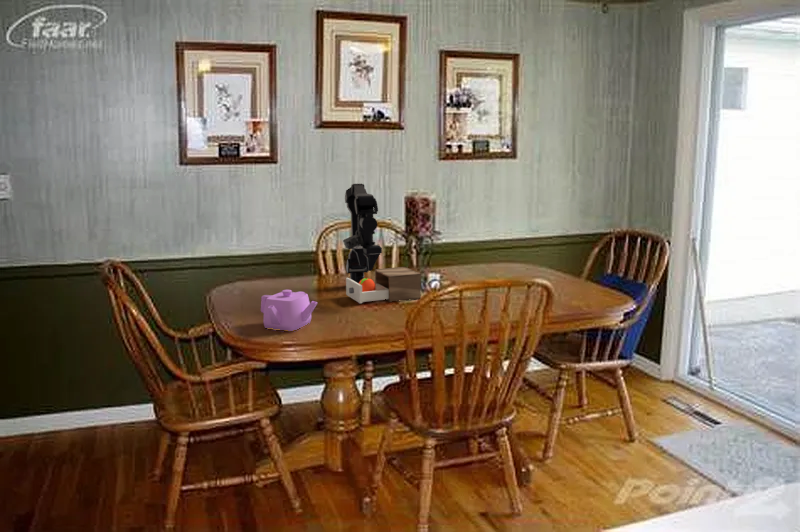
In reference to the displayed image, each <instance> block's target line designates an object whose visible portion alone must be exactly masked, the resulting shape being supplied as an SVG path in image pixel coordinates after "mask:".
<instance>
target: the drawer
mask: <svg viewBox="0 0 800 532" xmlns="http://www.w3.org/2000/svg"><path fill="white" fill-rule="evenodd" d="M345 284H346V285H345V290H346V291H345V292H346V293H345V294H346V296H348V298H351V299H352V300H354V301H356V302H357V303H358V304H363V303H365V302H372V301H373V302H374V301H383V300H385V299H389V289H387V288H385V287H384V286H382V285H380V284H378V283H377V284H375V286H376V288H375V291H367V292H362V285H360V284H359V283H357V282H355V281H354V280H352V279H350V277H346V278H345ZM385 301H386V300H385Z"/></svg>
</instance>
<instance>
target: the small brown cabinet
mask: <svg viewBox="0 0 800 532" xmlns="http://www.w3.org/2000/svg"><path fill="white" fill-rule="evenodd" d="M421 277H422V274H421V273H420V272H417V271H416V270H413V269H411V268H408V267H406V266H398V267H388V268H387V267H386V268H376V269H374V283H375V284H377V283H378V284H380V285H382V286H384V287H385V288H387V289H389V299H386V300H385V301H387V302H388V303H393V302H392V301H397V302H400V301H399V300H406V301H410V300H409V299H415V300H420V299H419V298H421V294H422V293H421V291H422V290H421V286H422V285H421V280H422V279H421Z"/></svg>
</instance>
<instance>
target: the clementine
mask: <svg viewBox="0 0 800 532" xmlns="http://www.w3.org/2000/svg"><path fill="white" fill-rule="evenodd" d="M359 284H360V285H362V292H367V291H375V288H376V286H375V280H373V279H372V278H369V277H364V279H362V280H360V282H359Z"/></svg>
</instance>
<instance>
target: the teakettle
mask: <svg viewBox="0 0 800 532" xmlns="http://www.w3.org/2000/svg"><path fill="white" fill-rule="evenodd" d="M260 298H261V300H260V301H261V302H260V312H261V313H262V314H263V320H262V321H263V326H264V329H265V328H273V329H280V330H288V331H293V330H297V329H299V328H301V327H303V326H305V325H307V324H308V323H309V324H311V320H312V313H313V312H314V310H315V308H316V306H317V305H318V302H317V301H314V300H312V301H310V298H309V295H308V293H306V292H305V291H295V292H294V291H293V290H291V289H283V290H281V291H280V292H277V293H275V294H273V295H271V294H270V295H269V294H264V295H262V296H261V297H260ZM309 324H308V325H309ZM308 325H307V326H308ZM305 327H306V326H305ZM303 328H304V327H303ZM301 329H302V328H301ZM299 330H300V329H299ZM297 331H298V330H297Z"/></svg>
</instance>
